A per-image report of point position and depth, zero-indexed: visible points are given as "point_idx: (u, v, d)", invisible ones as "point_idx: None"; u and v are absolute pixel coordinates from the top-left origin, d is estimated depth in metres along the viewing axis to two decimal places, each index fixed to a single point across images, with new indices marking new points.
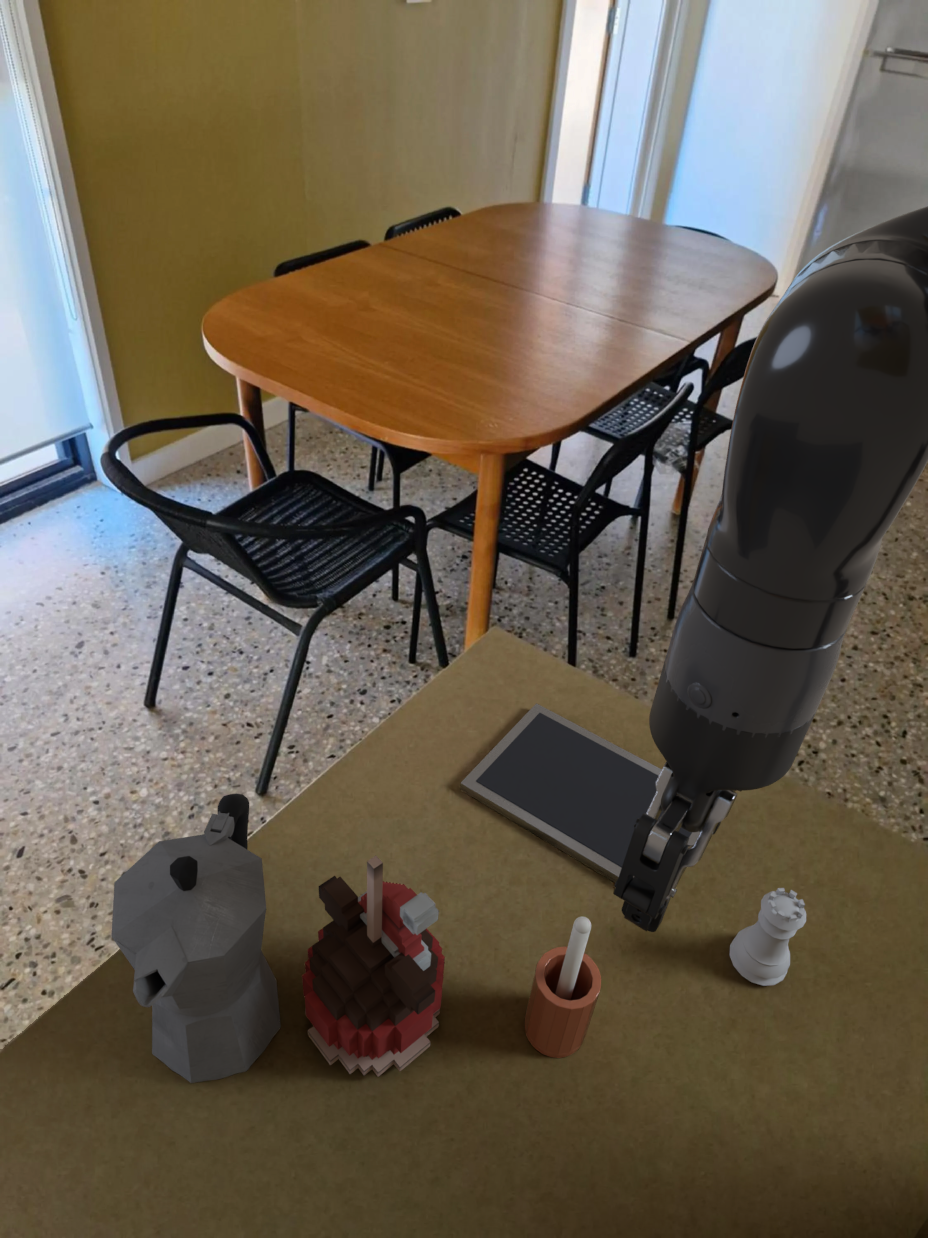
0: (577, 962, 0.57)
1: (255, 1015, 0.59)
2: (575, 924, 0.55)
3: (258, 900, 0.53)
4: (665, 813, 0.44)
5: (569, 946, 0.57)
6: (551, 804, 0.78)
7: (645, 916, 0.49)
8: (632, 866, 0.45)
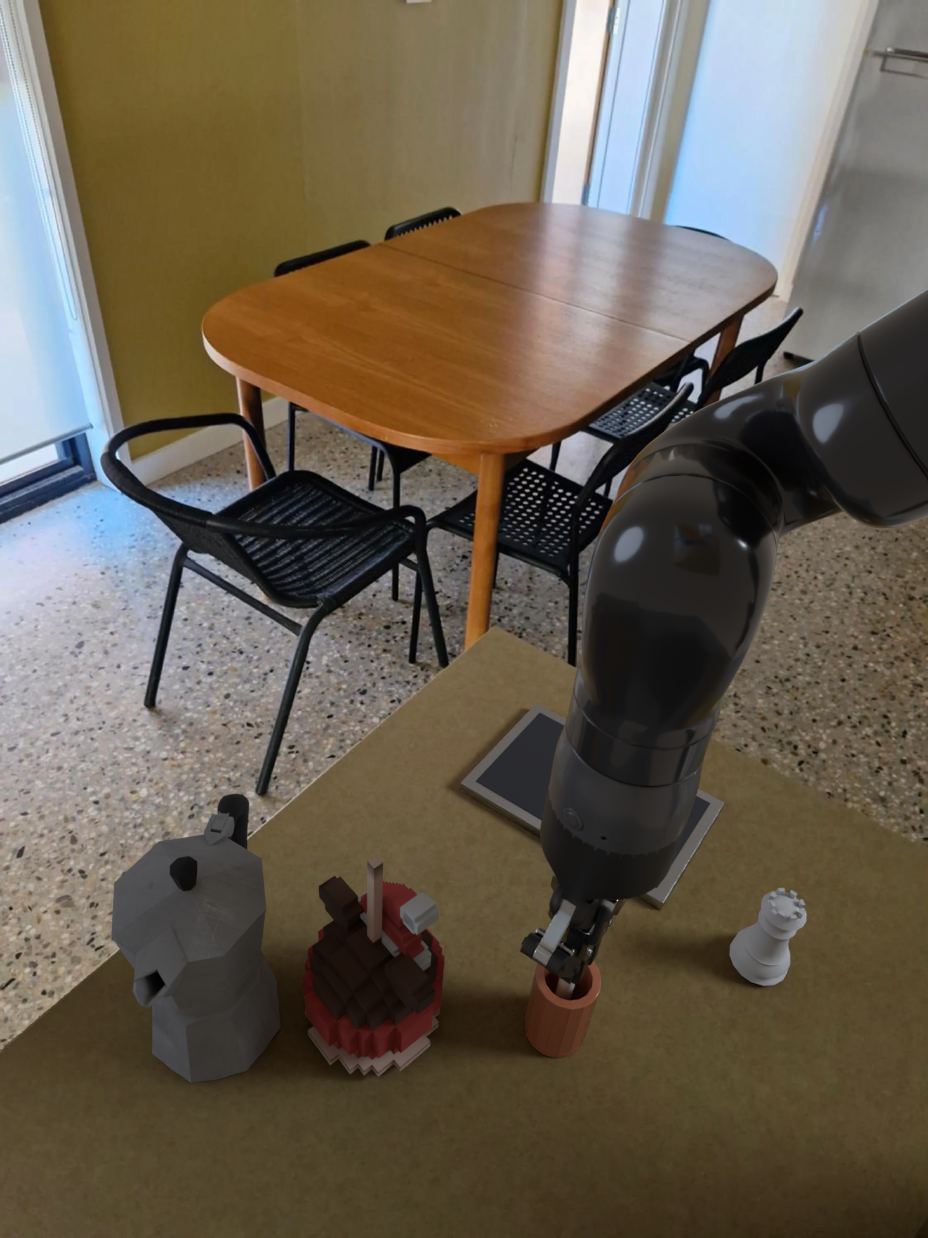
0: None
1: (255, 1015, 0.59)
2: None
3: (258, 900, 0.53)
4: (547, 932, 0.49)
5: None
6: None
7: None
8: None
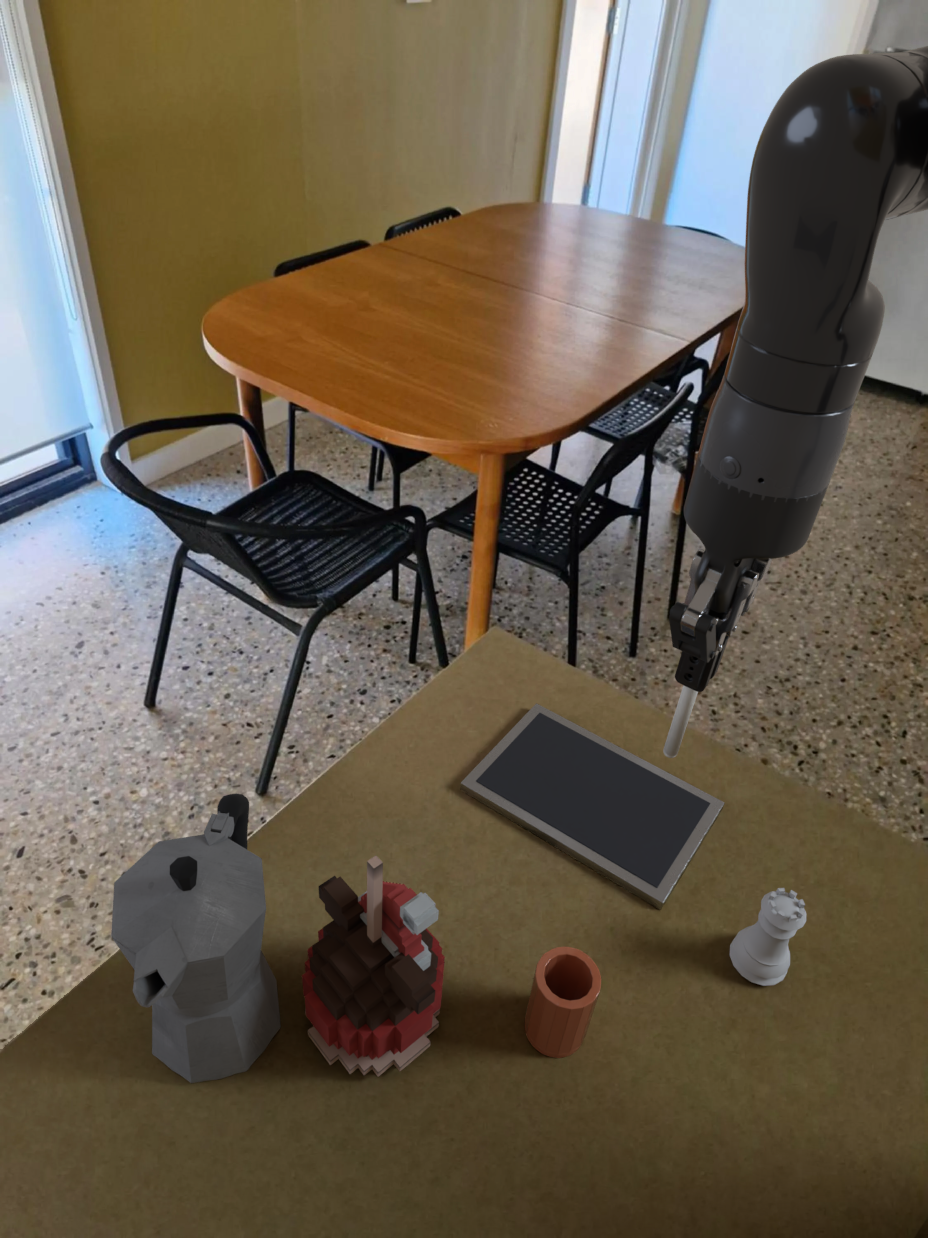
0: None
1: (255, 1015, 0.59)
2: None
3: (258, 900, 0.53)
4: (694, 598, 0.53)
5: None
6: (551, 804, 0.78)
7: (696, 673, 0.59)
8: (678, 635, 0.55)
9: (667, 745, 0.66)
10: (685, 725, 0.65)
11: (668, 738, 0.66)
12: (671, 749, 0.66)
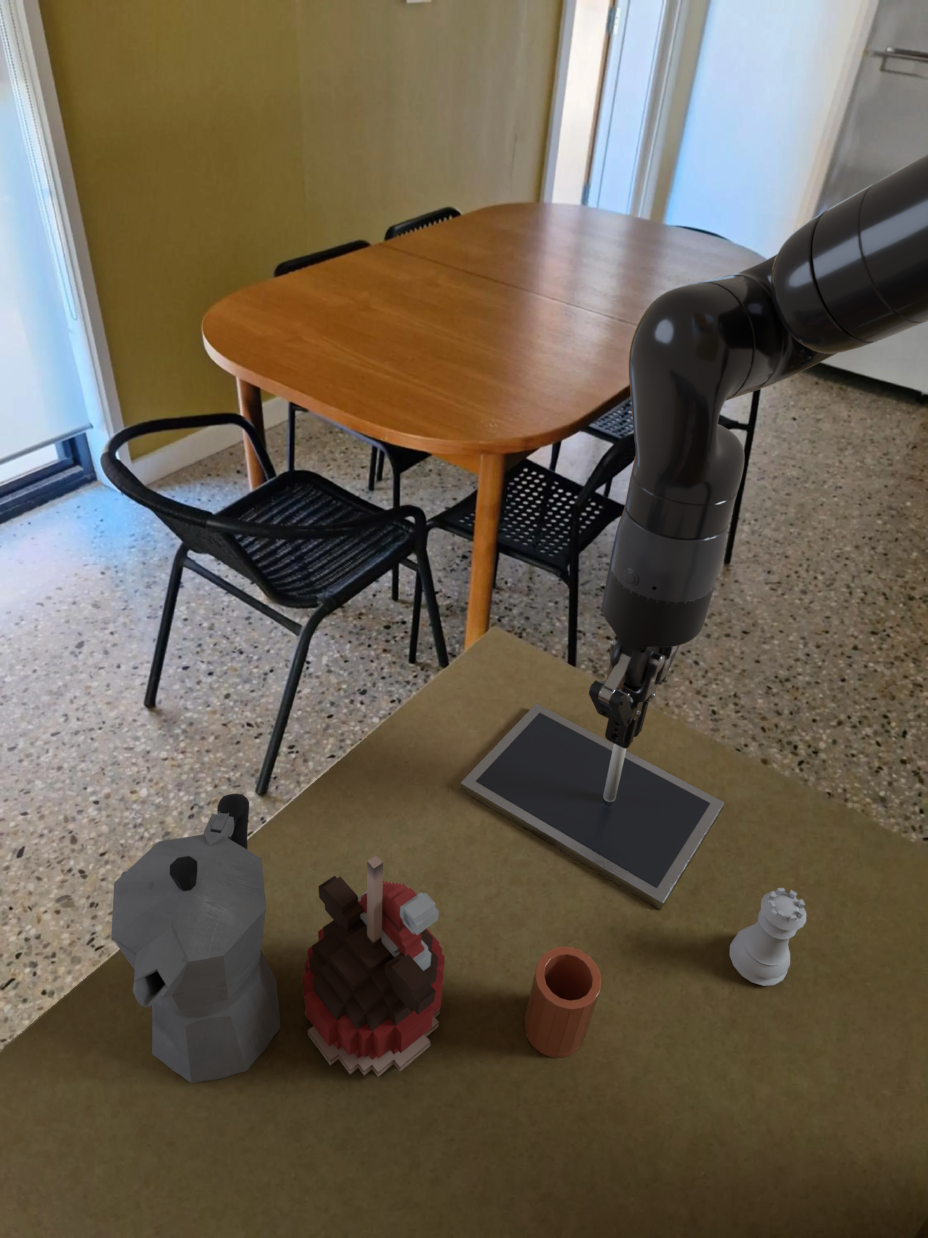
0: None
1: (255, 1015, 0.59)
2: None
3: (258, 900, 0.53)
4: (609, 678, 0.65)
5: None
6: (551, 804, 0.78)
7: (620, 733, 0.71)
8: (599, 706, 0.67)
9: (605, 791, 0.78)
10: (618, 775, 0.76)
11: (606, 785, 0.78)
12: (609, 795, 0.78)
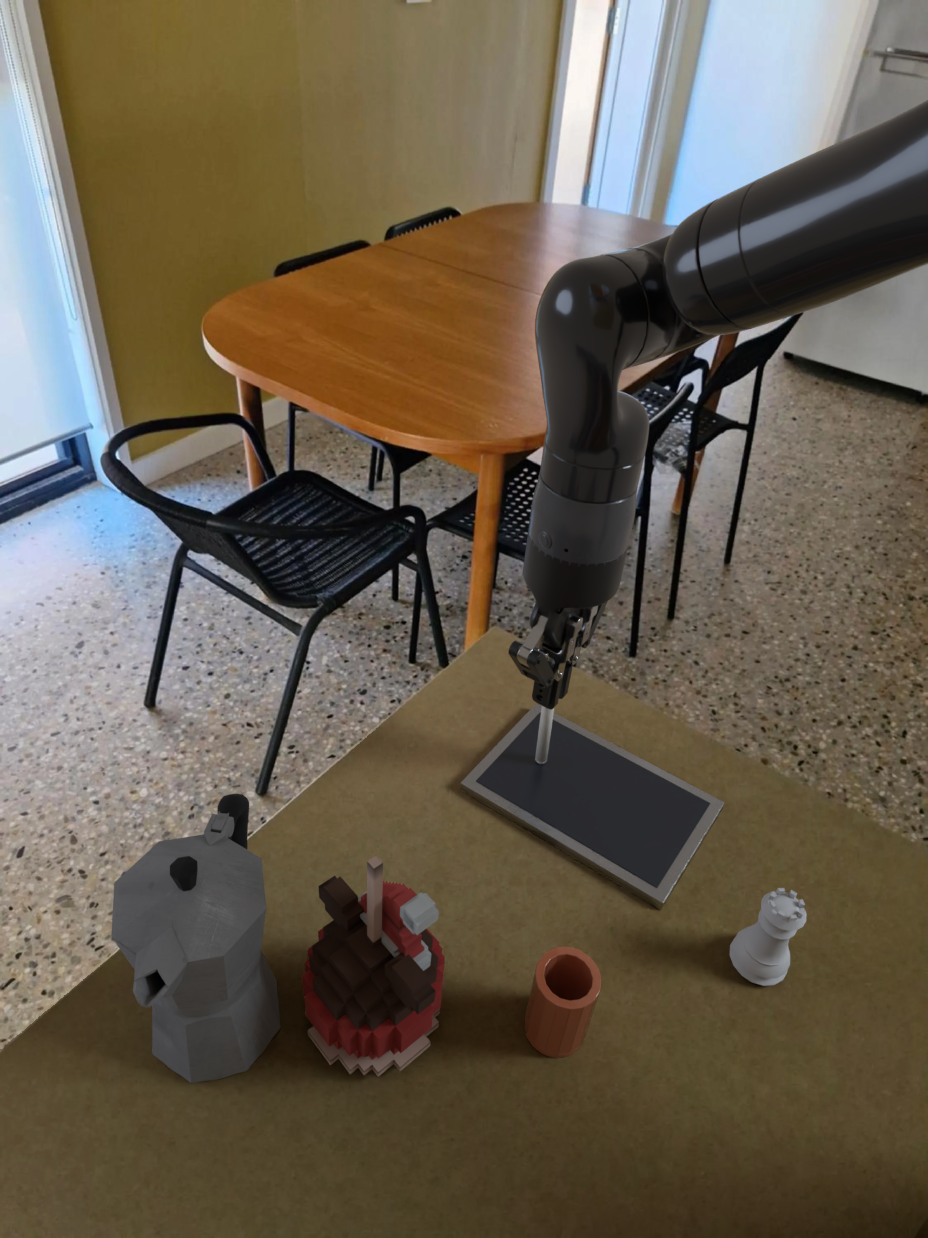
0: None
1: (255, 1015, 0.59)
2: (549, 657, 0.74)
3: (258, 900, 0.53)
4: (527, 638, 0.67)
5: None
6: (551, 804, 0.78)
7: (545, 694, 0.74)
8: (520, 666, 0.70)
9: (536, 753, 0.81)
10: (548, 736, 0.79)
11: (537, 747, 0.80)
12: (540, 756, 0.81)
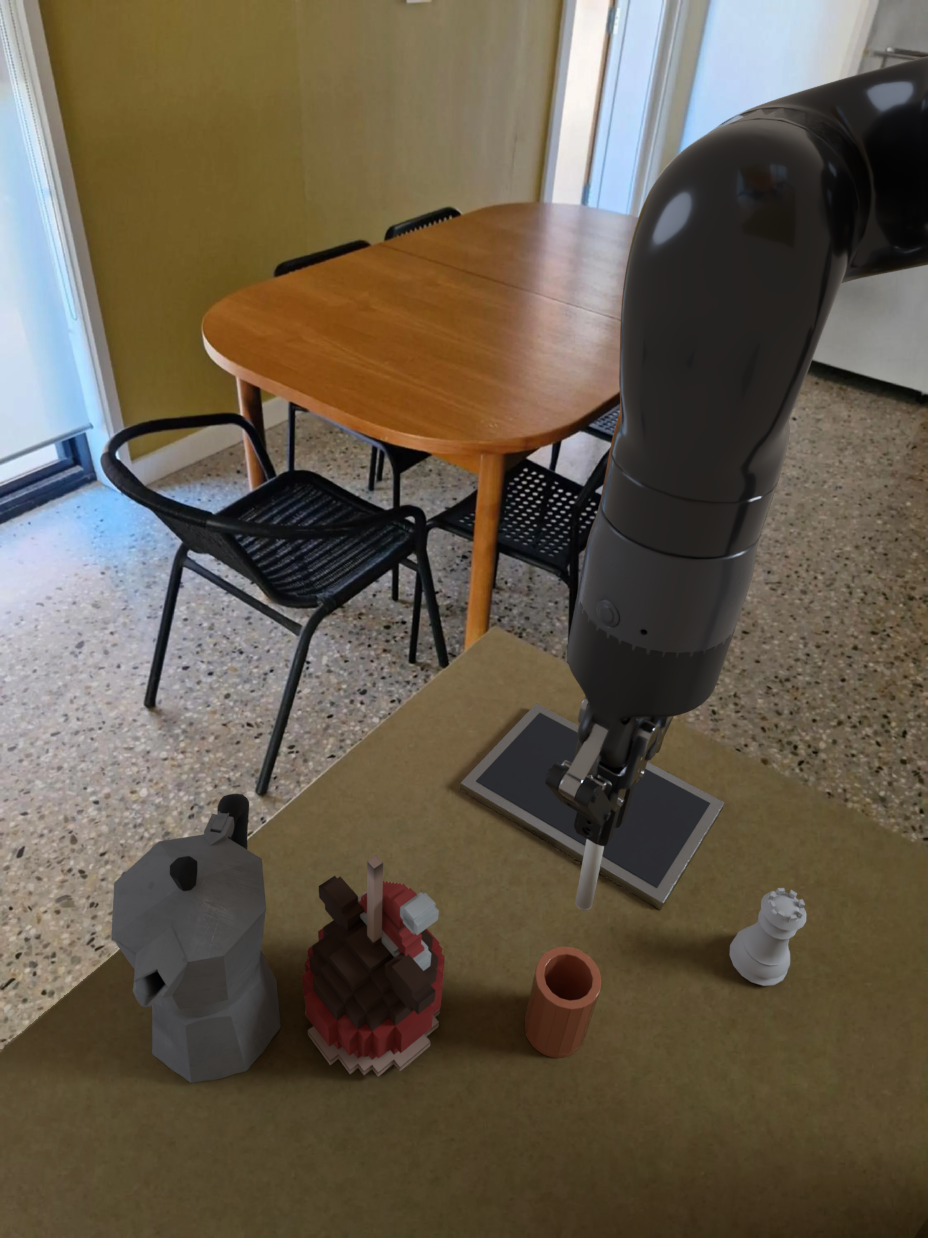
0: None
1: (255, 1015, 0.59)
2: None
3: (258, 900, 0.53)
4: (575, 760, 0.43)
5: None
6: (551, 804, 0.78)
7: (595, 828, 0.50)
8: (561, 798, 0.45)
9: (578, 897, 0.56)
10: (595, 877, 0.55)
11: (578, 889, 0.56)
12: (583, 902, 0.56)
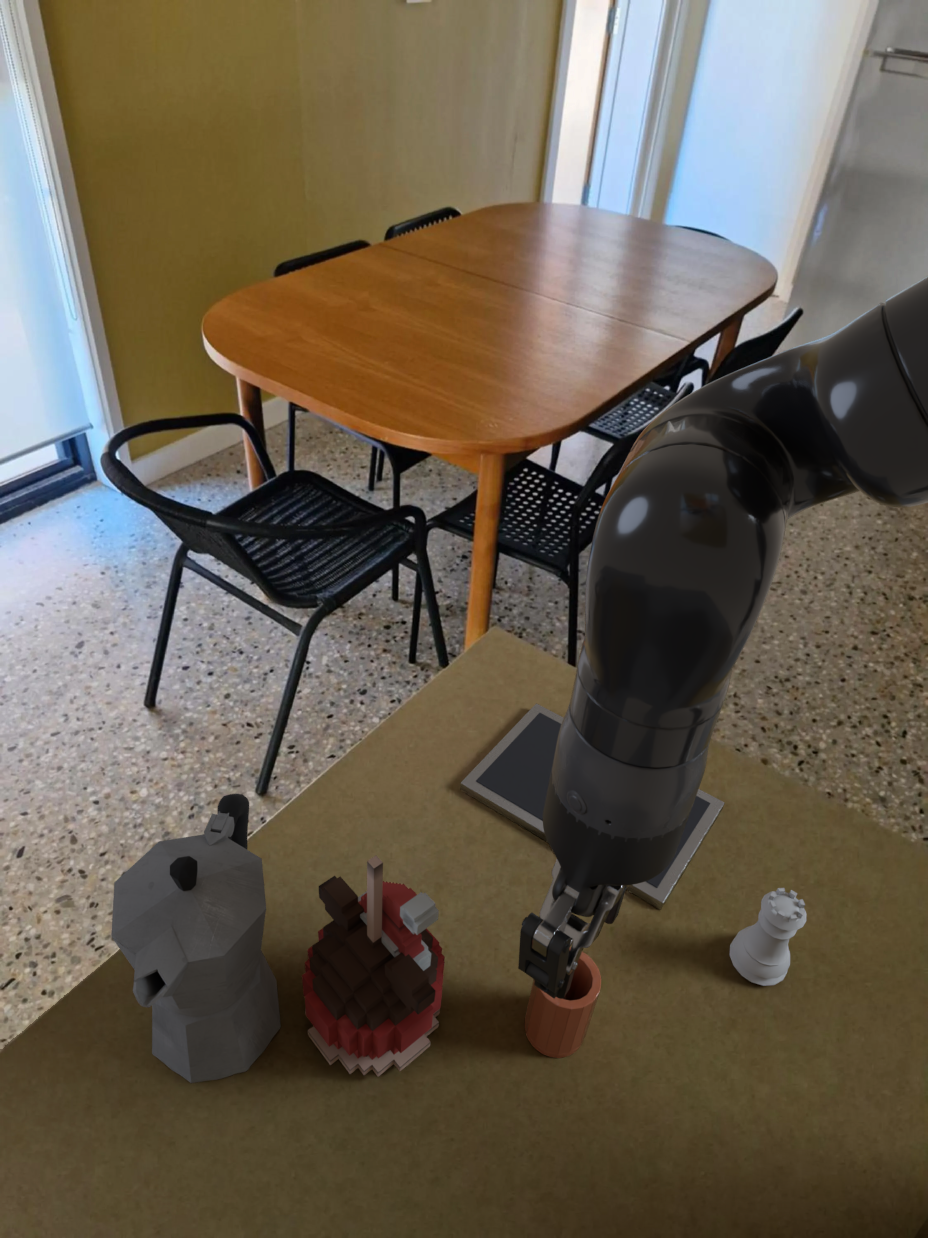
0: None
1: (255, 1015, 0.59)
2: None
3: (258, 900, 0.53)
4: (550, 911, 0.47)
5: None
6: None
7: None
8: (526, 954, 0.49)
9: None
10: None
11: None
12: None
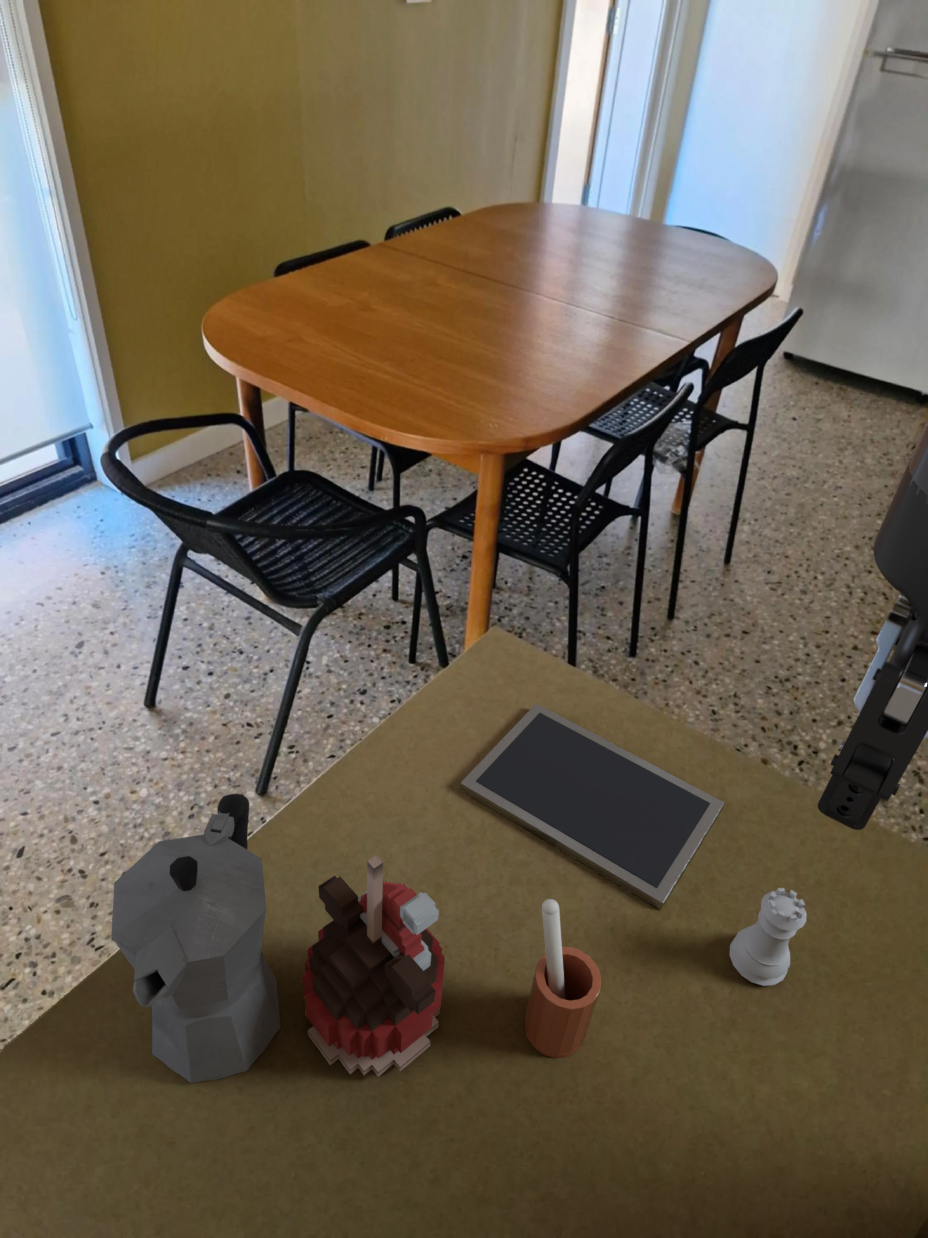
0: (556, 949, 0.58)
1: (255, 1015, 0.59)
2: (542, 907, 0.56)
3: (258, 900, 0.53)
4: (911, 662, 0.35)
5: (544, 932, 0.58)
6: (551, 804, 0.78)
7: (857, 806, 0.40)
8: (865, 731, 0.36)
9: None
10: None
11: None
12: None
